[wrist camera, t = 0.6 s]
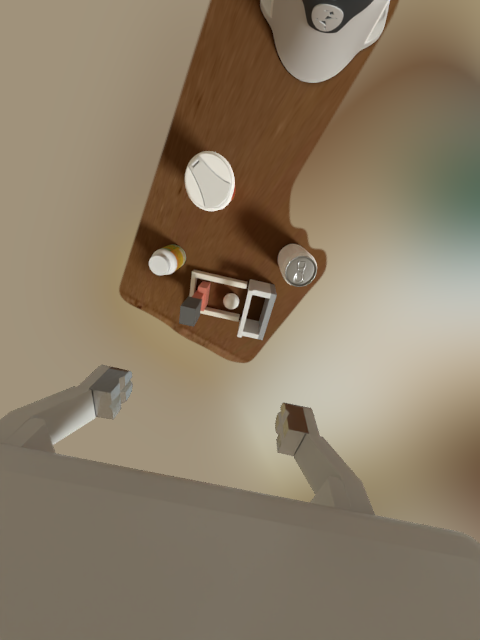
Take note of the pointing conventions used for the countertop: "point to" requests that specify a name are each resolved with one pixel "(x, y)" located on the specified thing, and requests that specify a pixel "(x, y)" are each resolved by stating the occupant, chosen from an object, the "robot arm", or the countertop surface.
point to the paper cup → (210, 181)
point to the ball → (231, 301)
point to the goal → (258, 327)
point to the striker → (194, 305)
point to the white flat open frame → (218, 279)
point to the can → (297, 265)
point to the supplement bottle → (167, 260)
